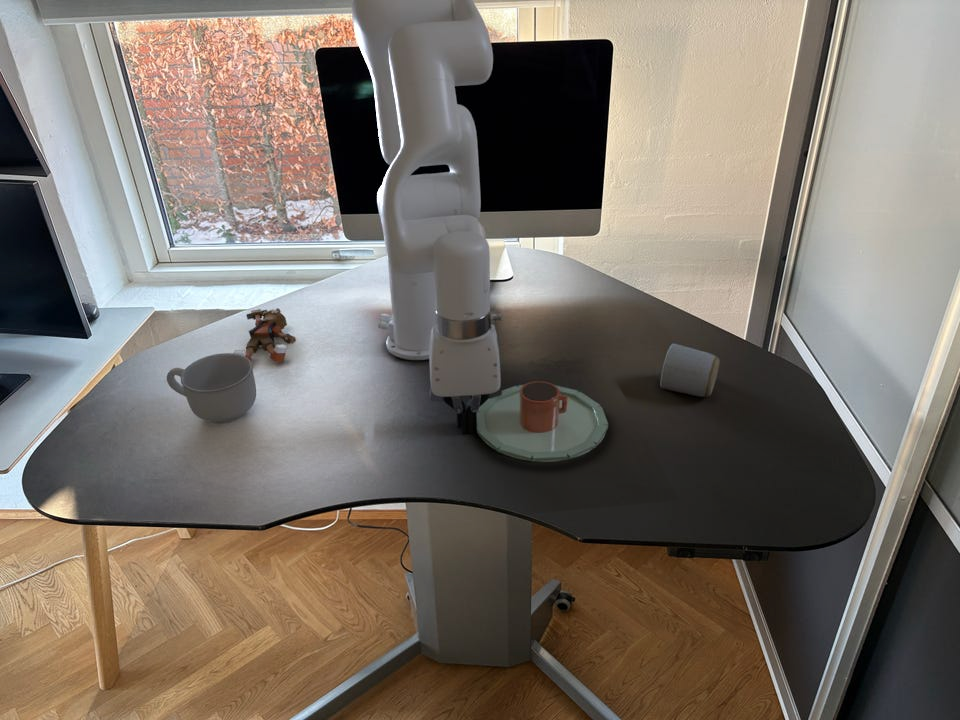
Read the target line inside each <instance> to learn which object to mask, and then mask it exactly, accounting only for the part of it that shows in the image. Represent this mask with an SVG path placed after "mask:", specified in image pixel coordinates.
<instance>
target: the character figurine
mask: <svg viewBox="0 0 960 720" xmlns="http://www.w3.org/2000/svg"><path fill="white" fill-rule="evenodd" d="M245 316H246V318H247V321H249V320H253V321H254V320H255V324H254V325H255V326H254V327H253V328H252V329H249V330H248V333H249V336H250V339H249V340H248V342H247V344H246V346H245V349H235V350H234V351H233V354H239V355H242V356H244V357H246V358H248V359H249V360H250V361H251V362H252V356H253V355H254V354H257V352H258V351H259V349H260V346H261V348H262V349H263V350H264V351H265V352H267V353H268V354H269V358H270V360H272V361H273V362H274V364H275V363H277V364H278V363H284V362H285V359H286V358H285V357H286V354H287V350H288V347H287V346H286V345H285V344H275V339H281V340H283V342H284V343H286V344H287V345H290V344H295V342H296V341H297V339H296V336H294V335H292V334H290V333H286V334H285V333H284V332H282V330H284V329H285V327H286V326H288V323H287V319H286V316H284V314H282V312H281V310H280V308H278V307H277V308H276V309H269V310H268V309H260V308H258V309H253V310H251V311H250V313H246V315H245Z"/></svg>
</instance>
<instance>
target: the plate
mask: <svg viewBox="0 0 960 720" xmlns="http://www.w3.org/2000/svg"><path fill="white" fill-rule="evenodd" d="M523 385H524V384H518V385H514V386H511V387H508V388H506V389H503V390H502V395H501V396H499V397H495V398H492V399H488V400H487V401H486V402H485V403H484V404H482V405H481V406H480V407H479V410H478V411H477V427H476V433H477V435H478V437H480V438H481V439H482V441H483V442H484V443H485V444H487V445H488V446H489V447H491V448H492V449H494V450H495V451H496V452H498V453H500V454H503V455H505V456H509V457H511V458H514V459H518V460H522V461H523V460H524V461H528V462H539V463H540V462H545V463H546V462H547V463H548V462H560V461H567V460H571V459H574V458H578V457H580V456H582V455H585V454H586V453H588V452H590V451H591V450H594V449H595V448H597V447H598V446H599V444H601V442H602V441H603V439H604V438H605V436H606V433H607V431H608V429H609V422H608V419H607V417H606V413H605V411H604V408H603V406H601V404H600V403H598V402H596V401H595V400H594V399H592V398H591V397H589V396H588V395H586V394H584V393H583V392H582V391H579V390H577V389H572V388H569V387H564V386H560V385H556V384H554V385H555V386H557V387H558V389H559V390H560V395H563V394H565V395H566V396H567V411H566V412H565V413H560V414H559V423H558V426H557V427H556V428H555V429H553V430H551V431H548V432H543V433H537V432H531V431H528V430H526V429H524V428H523V427H522V426H521V425H520V422H519V413H520V389H521V387H522V386H523ZM559 408H562V400H560V403H559Z"/></svg>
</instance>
